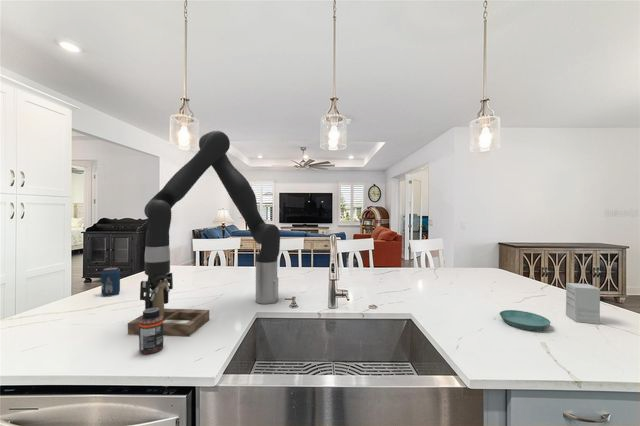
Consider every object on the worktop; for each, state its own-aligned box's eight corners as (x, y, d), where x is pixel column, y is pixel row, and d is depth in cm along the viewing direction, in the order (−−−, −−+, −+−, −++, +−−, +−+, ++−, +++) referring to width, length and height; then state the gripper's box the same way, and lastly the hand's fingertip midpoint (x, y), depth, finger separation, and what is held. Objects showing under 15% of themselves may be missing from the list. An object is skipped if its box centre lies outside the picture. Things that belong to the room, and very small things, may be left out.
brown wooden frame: (209, 319, 106) (209, 308, 106) (189, 336, 92) (189, 324, 92) (155, 317, 107) (155, 307, 107) (127, 334, 93) (127, 322, 93)
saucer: (489, 320, 108) (490, 313, 108) (516, 314, 113) (516, 307, 113) (532, 336, 94) (532, 328, 94) (560, 329, 100) (560, 321, 100)
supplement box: (589, 317, 111) (589, 283, 110) (600, 324, 104) (601, 288, 103) (565, 315, 113) (565, 282, 113) (574, 322, 106) (575, 286, 106)
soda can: (116, 291, 140) (116, 266, 140) (122, 294, 136) (122, 268, 136) (99, 295, 135) (98, 268, 134) (104, 297, 131) (104, 270, 130)
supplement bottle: (145, 345, 86) (145, 306, 86) (167, 344, 86) (167, 305, 86) (134, 355, 80) (134, 313, 80) (157, 354, 80) (157, 313, 80)
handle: (161, 329, 97) (161, 283, 97) (143, 328, 98) (143, 283, 98) (170, 323, 102) (171, 280, 102) (153, 322, 103) (153, 279, 102)
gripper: (155, 263, 92) (155, 315, 92) (179, 256, 106) (179, 301, 106) (132, 263, 93) (132, 314, 93) (159, 255, 107) (159, 300, 107)
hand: (157, 307), depth 100 cm, fingers open, 8 cm apart
